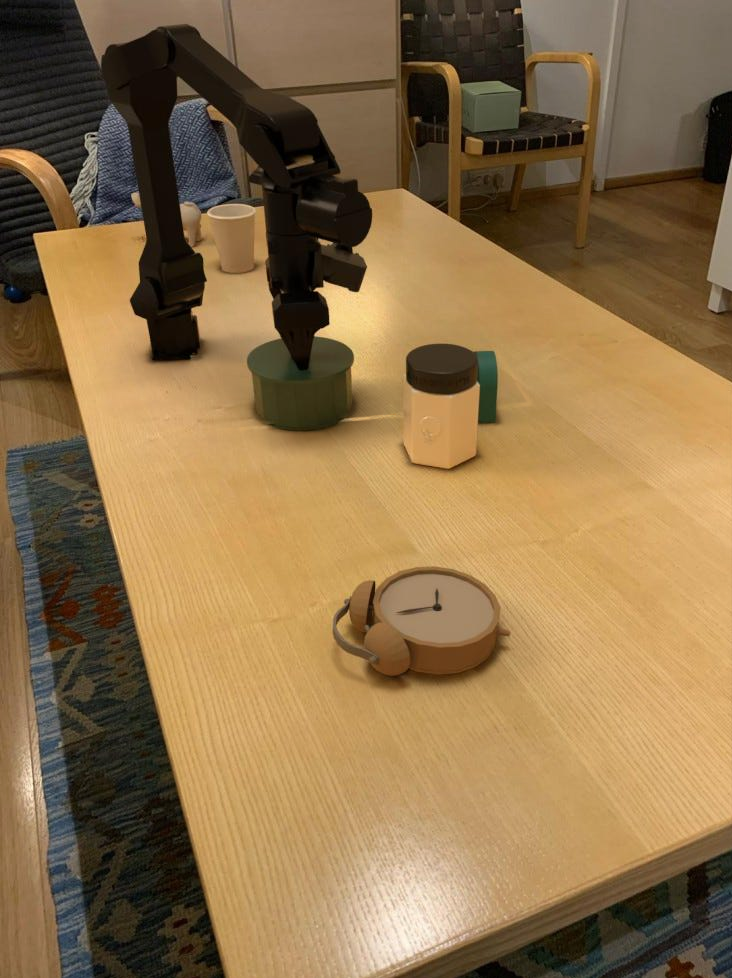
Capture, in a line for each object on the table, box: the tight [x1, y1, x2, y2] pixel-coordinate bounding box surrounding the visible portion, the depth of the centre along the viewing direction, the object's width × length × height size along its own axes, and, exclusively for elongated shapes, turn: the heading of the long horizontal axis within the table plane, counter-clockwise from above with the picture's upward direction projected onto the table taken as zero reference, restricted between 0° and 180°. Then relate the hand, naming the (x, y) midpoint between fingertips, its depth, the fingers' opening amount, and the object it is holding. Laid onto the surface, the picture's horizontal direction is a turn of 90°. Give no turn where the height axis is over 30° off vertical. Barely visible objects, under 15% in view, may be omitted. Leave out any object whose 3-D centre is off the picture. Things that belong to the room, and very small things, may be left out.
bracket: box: [473, 350, 499, 424], centre depth 115 cm, size 18×7×8 cm, turn 4°
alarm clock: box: [332, 565, 511, 677], centre depth 77 cm, size 11×5×15 cm
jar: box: [403, 343, 480, 470], centre depth 101 cm, size 9×8×12 cm
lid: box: [246, 335, 355, 384], centre depth 109 cm, size 13×13×5 cm
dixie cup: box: [206, 203, 257, 274], centre depth 154 cm, size 8×8×10 cm
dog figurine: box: [130, 191, 202, 248], centre depth 166 cm, size 5×13×11 cm, turn 82°
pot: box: [251, 367, 353, 432], centre depth 112 cm, size 12×12×6 cm
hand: (300, 355), depth 109 cm, fingers open, 8 cm apart
